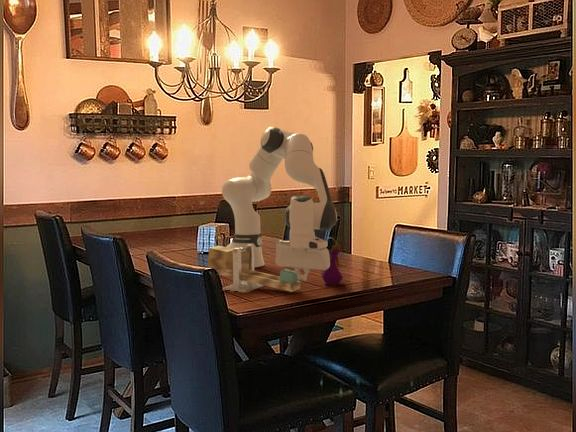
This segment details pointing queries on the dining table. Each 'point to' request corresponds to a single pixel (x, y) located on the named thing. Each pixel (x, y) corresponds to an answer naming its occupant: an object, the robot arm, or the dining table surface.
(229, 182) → the robot arm
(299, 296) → the dining table surface
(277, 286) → the beam
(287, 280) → the block
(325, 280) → the purple vase
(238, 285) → the stand
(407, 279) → the dining table surface
